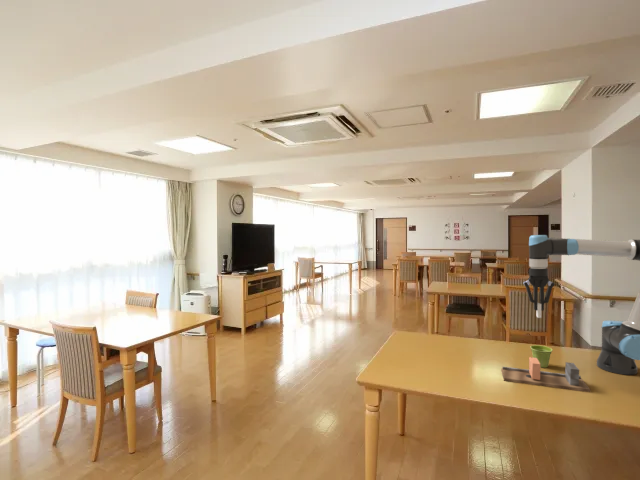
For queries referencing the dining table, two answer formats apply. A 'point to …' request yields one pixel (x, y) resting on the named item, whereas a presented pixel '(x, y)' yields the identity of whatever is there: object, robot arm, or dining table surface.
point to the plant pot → (541, 354)
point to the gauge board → (548, 378)
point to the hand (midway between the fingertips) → (538, 317)
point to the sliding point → (534, 368)
